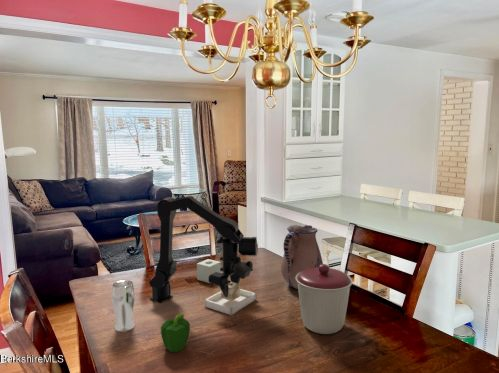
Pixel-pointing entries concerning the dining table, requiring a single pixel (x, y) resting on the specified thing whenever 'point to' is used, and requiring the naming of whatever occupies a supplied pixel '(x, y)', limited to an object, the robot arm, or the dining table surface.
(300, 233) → the ceramic pitcher
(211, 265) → the sage block
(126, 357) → the dining table surface
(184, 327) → the bell pepper
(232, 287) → the maple block
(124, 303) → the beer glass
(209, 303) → the tray
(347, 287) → the canister
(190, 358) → the dining table surface
